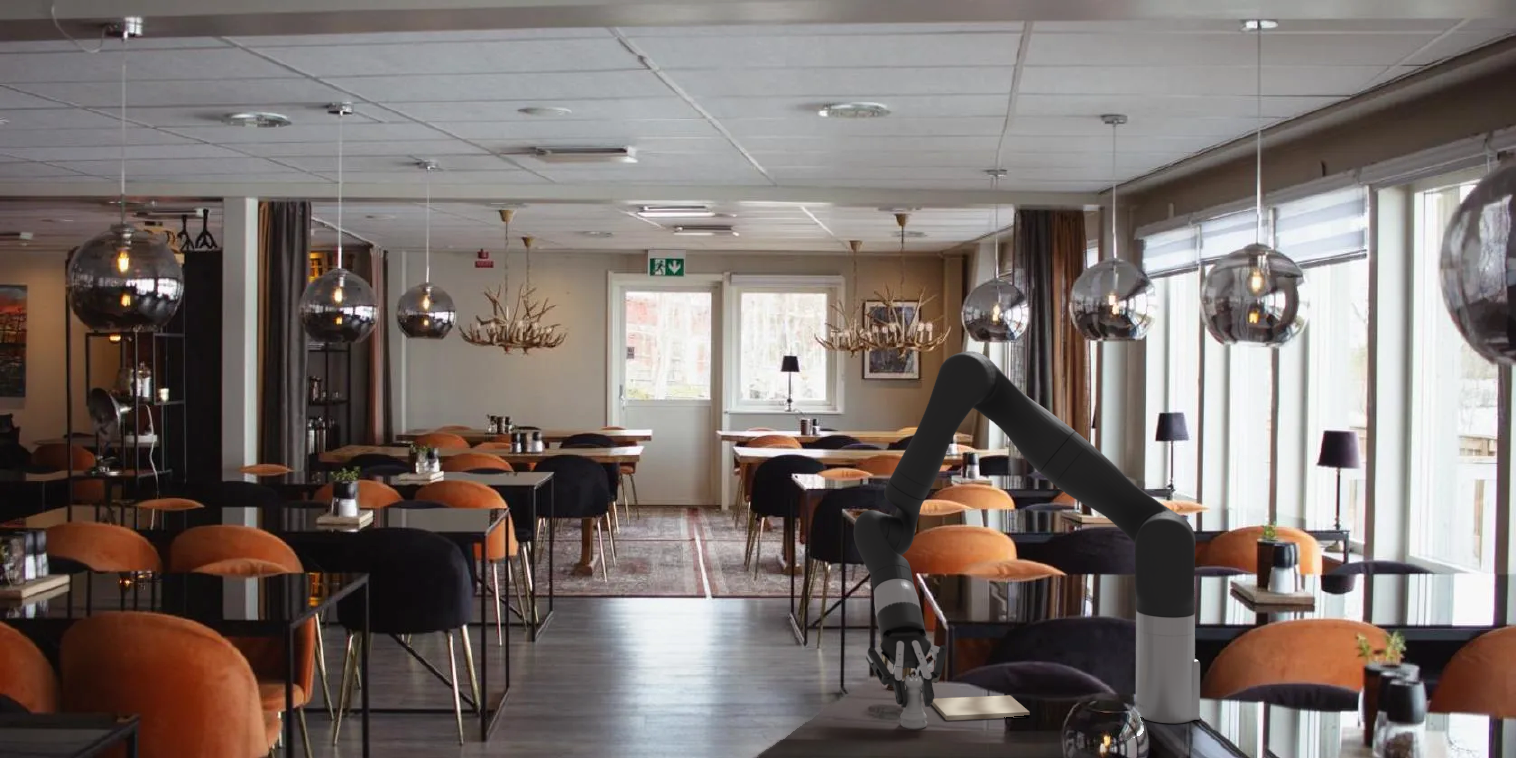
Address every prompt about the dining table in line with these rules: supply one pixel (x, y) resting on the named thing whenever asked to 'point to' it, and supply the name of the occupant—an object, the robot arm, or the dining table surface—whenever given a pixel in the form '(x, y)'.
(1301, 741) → the dining table surface
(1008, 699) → the birch placemat
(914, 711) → the rook chess piece
